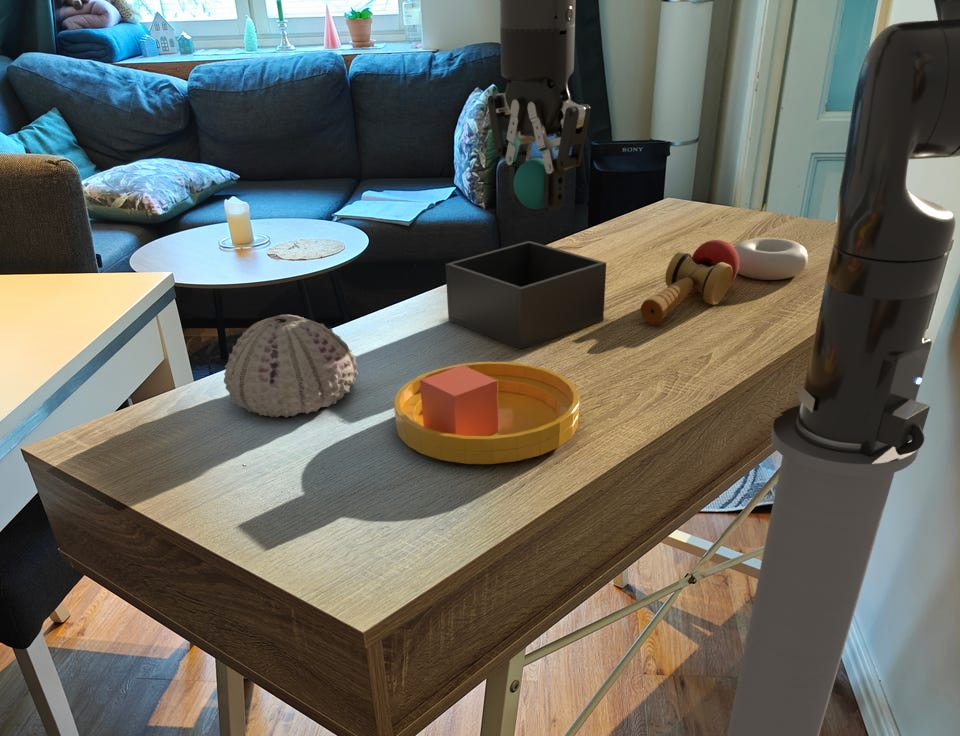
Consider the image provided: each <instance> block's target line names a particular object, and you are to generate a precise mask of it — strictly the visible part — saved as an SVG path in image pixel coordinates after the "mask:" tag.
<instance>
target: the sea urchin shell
mask: <svg viewBox="0 0 960 736" xmlns="http://www.w3.org/2000/svg"><path fill="white" fill-rule="evenodd" d="M356 359H357V356H356V355H354V353H353V351H352V349H351V348H349V346H348V344H347V343H346V342H345V341H344V340H343V339H342V337H341V336H340V335H338V334H336V333H335V332H334V331H333V329H332V328H328V327H326V326H325V324H324V323H319V322H317V321H315V320H312V319H307V318H304V316H302V317H301V316H299V315H293V314H280V315H275V316H272V317H268V318H265V319H262V320H260V321H259V320H258V321H257V322H255V323H253V324H252V325H250V326H249V327H248V328H247V329H246V330H245V331H243V332H242V334H241V336H240V337H238V338H237V341H236V344H235V345H232V351H231V353H229V354H228V360H227V363H226V364H225V365H224V368H225V371H224V372H223V374H224V378H223V383H224V384H225V390H226V391H227V392H228V393H229V397H230V398H231V399H232V402H233V403H235V404H237V406H238V408H244V409H245V410H246V411H248V412H249V413H251V412H253V413H257V414H259V415H260V416H264V417H266V416H267V417H268V416H269V417H270V418H273V417H275V418H279V417H280V416H282V417H285V418H289V417H295V416H297V415H298V414H306V415H308V414H309V413H311V412H318V410H319V409H320V408H329V407H330V406H332V405H334V404H336V403H337V401H338V400H342V399H343V398H344V395H345V394H348V393H350V389H351V386H352V385H353V384H354V383H356V377H357V376H358V375H359V373H358V370H357V368H358V367H359V364H358V363H357V362H356Z"/></svg>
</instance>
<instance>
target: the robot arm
mask: <svg viewBox="0 0 960 736" xmlns="http://www.w3.org/2000/svg"><path fill="white" fill-rule="evenodd" d="M933 3H934V6H935V7H934V8H935V12H936V17H937V20H936V19H935V20H919V21H918V20H916V21H915V20H913V21H904V22H898V23H893V24H891V25H889V26H887V27H885V28H884V29H882V30H881V31H880V32H879V33H878V34H877V36H876V37H875V38H874V40H873V41H872V43H871V44H870V46H869V47H868V50H867V52H866V53H865V56H864V59H863V62H862V65H861V67H860V71H859V74H858V78H857V82H856V86H855V91H854V95H853V101H852V108H851V114H850V121H849V128H848V135H847V136H848V137H847V143H846V149H845V155H844V163H843V169H842V174H841V181H840V186H839V192H838V200H837V219H836V229H835V235H834V238H833V239H834V240H833V244H832V248H831V254H830V259H829V264H828V268H827V273H826V279H825V282H824V287H823V293H822V298H821V303H820V308H819V313H818V317H817V321H816V327H815V331H814V336H813V342H812V346H811V352H810V355H809V361H808V366H807V370H806V371H807V372H806V376H805V380H804V385H803V386H802V384H799V385H798V390H797V396H796V398H797V400H799V402H800V404H799V405H800V408H799V410H800V411H799V413H798V416H797V420H796V425H795V428H796V431H797V433H798V434H799V435H800V436H801V437H802V438H803V439H805V440H806V441H808V442H810V443H812V444H814V445H817V446H819V447H822V448H825V449H829V450H834V451H839V452H847V453H859V454H863V455H866V456H869V457H872V456H874V455H876V454H877V453H879V452H881V451H882V450H884V449H886V448H888V447H890V446H892V447H895V449H896V452H897V454H898V455H903V454H907V453H911V452H914V451H916V450H918V449H919V450H920V449H921V448H922V446H923V444H924V442H925V434H924V430H925V429H924V428H925V424H926V423H927V419H928V415H929V412H930V408H931V405H929V404H926V403H923V402H920V401H916V400H917V398H918V395H919V390H920V387H921V383H922V381H923V377H924V373H925V370H926V366H927V363H928V359H929V356H930V353H931V348H932V346H933V345H932V344H933V342H932V340H931V339H930V338H926V337H925V336H926V332H927V328H928V325H929V321H930V318H931V314H932V310H933V307H934V303H935V300H936V296H937V292H938V289H939V285H940V283H941V278H942V275H943V271H944V268H945V264H946V261H947V257H948V253H949V251H950V249H951V248H950V247H951V244H952V240H953V237H954V233H955V229H956V218H955V216H954V214H953V213H952V212H951V210H949V209H948V208H946V207H944V206H942V205H940V204H937V203H935V202H933V201H930V200H927V199H924V198H921V197H919V196H916V195H914V194H912V193H911V192H910V191H909V190H908V188H907V175H908V167H909V166H908V165H909V161H910V160H926V159H941V158H946V159H947V158H957V157H958V158H959V157H960V0H933ZM499 31H500V32H499V35H500V36H499V37H500V75H501V76H502V77H503V78H504V79H505V80H507V85H506V89H505V92H501V93H494V94H489V95H488V96H487V101H486V102H487V107H488V115H489V120H490V127H491V133H492V139H493V140H492V141H493V146H494V152H495V155H496V156H497V157H498V158H499V157H503V158H504V159H505V162H506V164H507V165H508V176H509V177H508V180H509V181H508V184H509V185H508V188H509V190H508V191H509V194H510V200H511V201H512V202H514V203H517V204H518V203H521V202H520V201H519V200H518V198H517V196H516V194H515V191H514V177H515V174H516V172H517V170H518V168H519V167H520V166H521V165H522V164H523V163H524V162H526V161H527V160H530V154H531V151H532V146H533V143H535V144H536V148H537V150H538V151H539V152H541V156H542V159H543V161H544V166H545V170H546V172H547V173H545V174H544V207H543V209H544V210H545V211H549V212H553V211H557V210H561V209H562V207H563V204H564V202H565V199H566V198H565V197H566V195H565V193H566V173H567V170H569V169H571V168H575V167H579V166H580V165H581V163H582V158H583V153H584V149H585V148H584V147H585V142H586V138H587V133H588V128H589V122H590V117H591V113H592V112H591V111H592V110H591V106H590V105H589V104H588V103H585V104H578V103H576V102H574V101H572V100H571V95H570V92H569V86H568V82H569V78H570V76H571V75H572V74H573V73H574V70H575V37H576V34H575V33H576V0H499ZM504 131H505V136H506V142H505V139H504V133H503V132H504ZM554 135H555V136H554ZM551 137H554V138H551ZM553 150H555V155H556V158H555V156H554V151H553ZM911 440H912V441H911ZM909 441H911V442H909ZM907 442H908V443H907ZM919 450H918V451H919Z"/></svg>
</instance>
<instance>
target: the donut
mask: <svg viewBox="0 0 960 736" xmlns="http://www.w3.org/2000/svg"><path fill="white" fill-rule="evenodd" d="M733 247H734V248H735V250H736V251H737V254H738V257H739V269H738V272H737V275H740V276H743V277H745V278H750V279H754V280H763V281H779V280H785V279H790V278H793V277H795V276H797V275H800V274H801V273H802V272H803V271H804V270H805V268H806V267H807V265H808V262H809V254H808V252H807V249H806V247H804V246H803V245H801V244H800V243H799V242H797V241H795V240H791V239H786V238H777V237H756V238H755V237H754V238H750V239H746V240H743V241H741V242H739V243H737V245H735V246H733Z"/></svg>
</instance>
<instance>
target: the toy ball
mask: <svg viewBox="0 0 960 736" xmlns="http://www.w3.org/2000/svg"><path fill="white" fill-rule="evenodd" d="M545 173H547V172H546V170H545V166H544V161H543V158H539V157H535V158H529V159H528V160H527V161H526V162H524V163H523V164H522V165H521V166H520V167H519V168H518V170H517V172H516V174H515V177H514V191H515V194H516V196H517V198H518V200H519V201H520V202H519V203H521V205H523V206H524V207H526V208H528V209H533V210H537V209H538V210H539V209H544V174H545Z"/></svg>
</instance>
